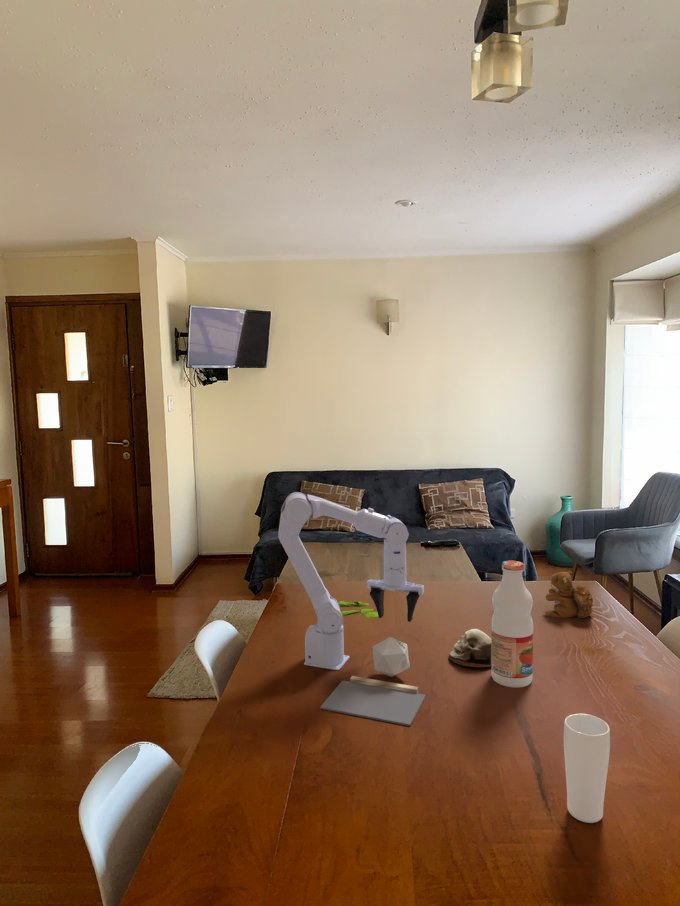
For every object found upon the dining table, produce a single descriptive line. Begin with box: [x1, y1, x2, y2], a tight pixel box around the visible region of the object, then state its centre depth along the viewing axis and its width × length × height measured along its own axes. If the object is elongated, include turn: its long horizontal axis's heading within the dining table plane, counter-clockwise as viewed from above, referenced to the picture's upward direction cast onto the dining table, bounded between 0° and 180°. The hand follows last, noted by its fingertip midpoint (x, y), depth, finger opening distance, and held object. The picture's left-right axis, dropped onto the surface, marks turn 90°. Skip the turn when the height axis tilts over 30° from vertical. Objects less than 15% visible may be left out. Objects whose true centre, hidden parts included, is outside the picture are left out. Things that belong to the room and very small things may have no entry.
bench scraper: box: [319, 680, 426, 727], centre depth 133 cm, size 20×13×1 cm, turn 68°
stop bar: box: [349, 675, 419, 694], centre depth 140 cm, size 16×1×1 cm, turn 68°
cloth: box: [338, 600, 379, 619], centre depth 191 cm, size 20×22×2 cm
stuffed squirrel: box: [545, 571, 594, 619], centre depth 182 cm, size 10×14×13 cm
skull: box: [448, 628, 491, 668], centre depth 153 cm, size 12×10×10 cm
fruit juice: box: [490, 560, 534, 689], centre depth 141 cm, size 9×9×28 cm
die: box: [372, 636, 411, 678], centre depth 144 cm, size 8×9×10 cm
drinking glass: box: [563, 713, 611, 824], centre depth 96 cm, size 7×7×15 cm
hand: (395, 618), depth 154 cm, fingers open, 7 cm apart
